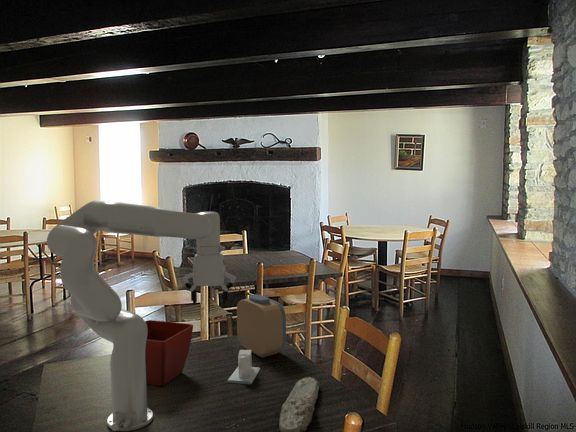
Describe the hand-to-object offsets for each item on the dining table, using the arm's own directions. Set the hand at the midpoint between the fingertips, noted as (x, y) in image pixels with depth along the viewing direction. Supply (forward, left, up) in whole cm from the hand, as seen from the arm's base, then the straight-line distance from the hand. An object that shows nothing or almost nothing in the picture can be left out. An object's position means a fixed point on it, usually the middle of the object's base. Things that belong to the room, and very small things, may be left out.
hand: (209, 302), depth 165 cm
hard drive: (+9, -10, -29) cm, 32 cm away
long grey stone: (-15, -29, -29) cm, 44 cm away
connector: (+9, -10, -28) cm, 31 cm away
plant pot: (+8, +20, -29) cm, 36 cm away
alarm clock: (+32, -15, -28) cm, 45 cm away
